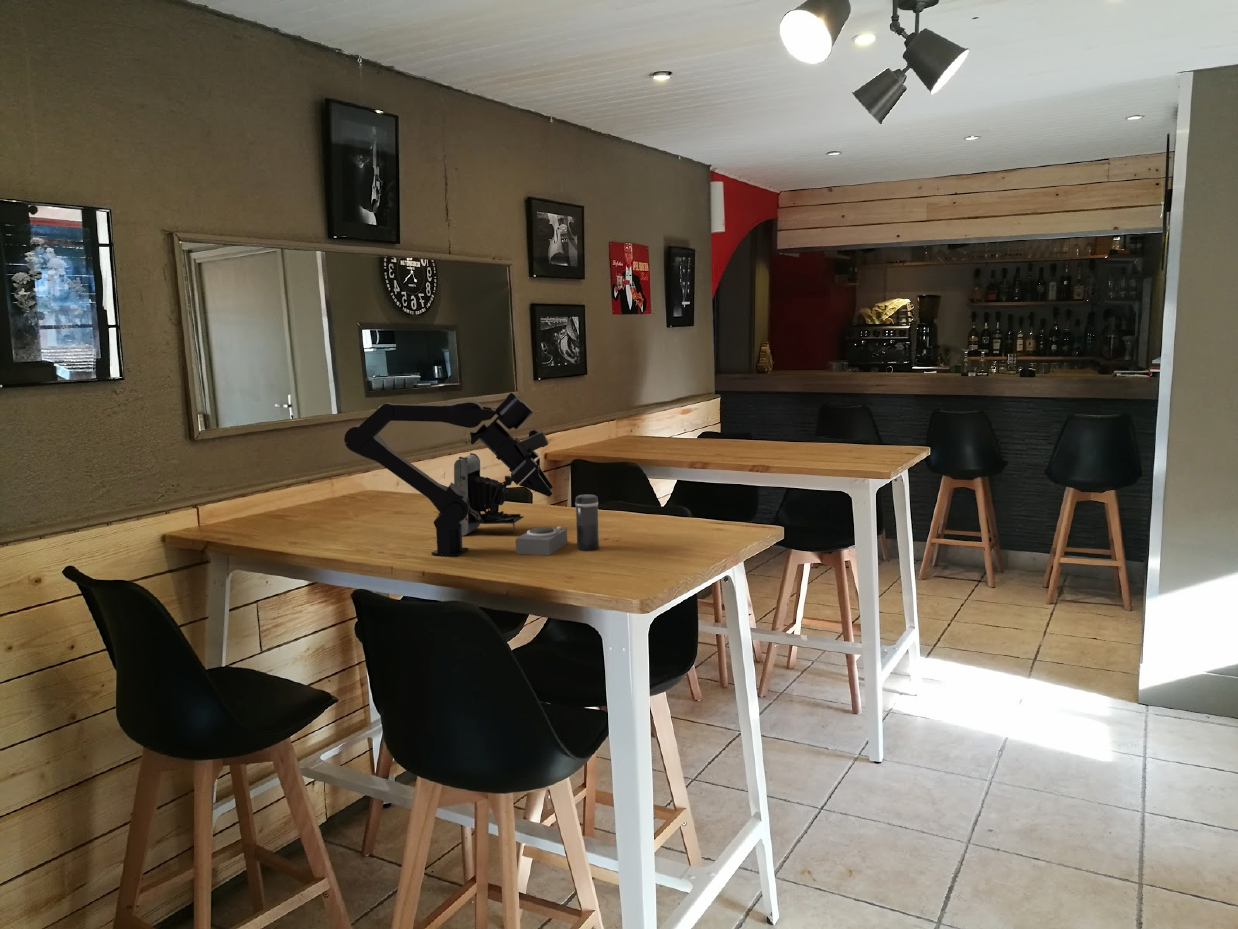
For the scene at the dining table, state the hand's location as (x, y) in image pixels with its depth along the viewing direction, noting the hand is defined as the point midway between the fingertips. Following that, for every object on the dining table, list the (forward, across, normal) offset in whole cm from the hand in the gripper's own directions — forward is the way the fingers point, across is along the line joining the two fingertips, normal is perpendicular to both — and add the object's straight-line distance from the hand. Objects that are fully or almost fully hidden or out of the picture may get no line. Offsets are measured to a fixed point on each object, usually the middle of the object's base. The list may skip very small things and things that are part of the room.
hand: (551, 491), depth 204 cm
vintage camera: (-1, +20, +21) cm, 29 cm away
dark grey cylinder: (+15, -1, +3) cm, 16 cm away
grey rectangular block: (+8, 0, +11) cm, 14 cm away
